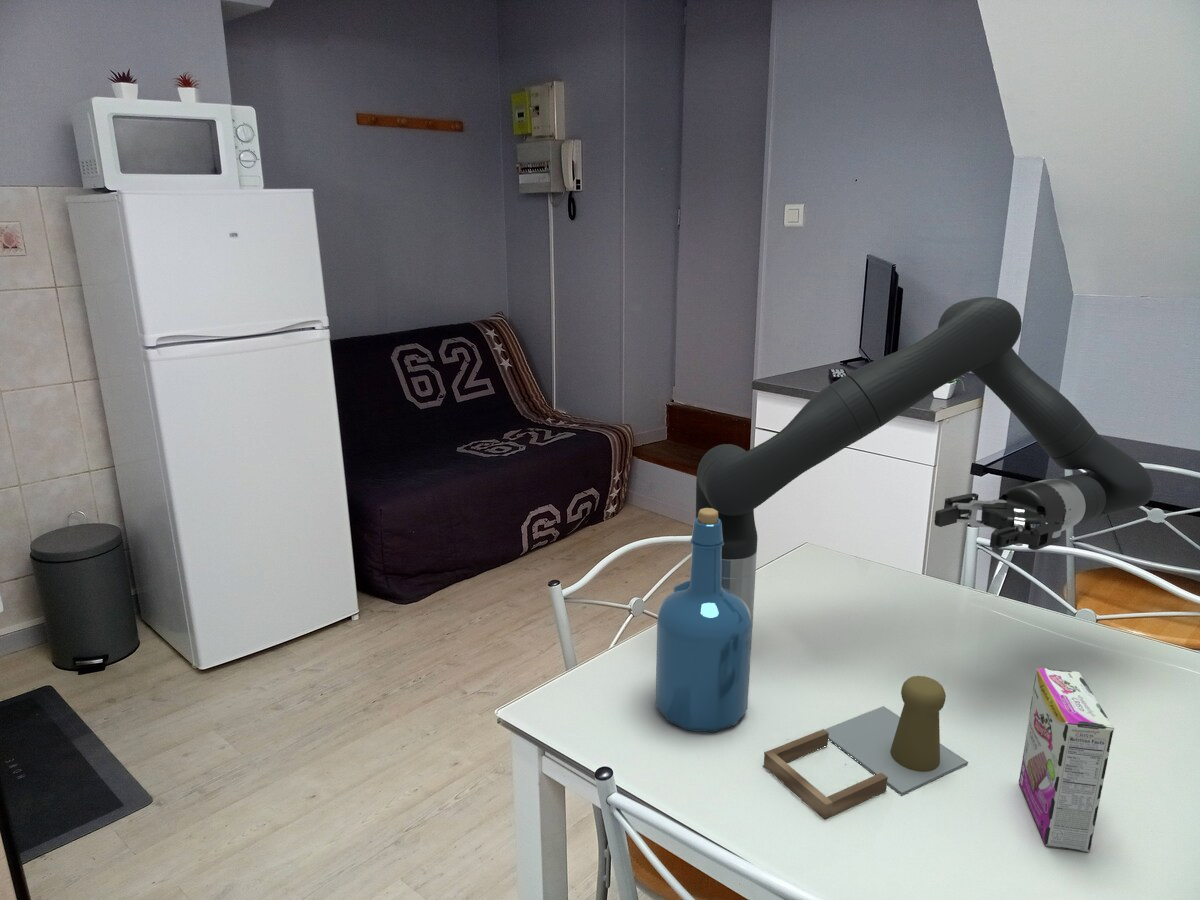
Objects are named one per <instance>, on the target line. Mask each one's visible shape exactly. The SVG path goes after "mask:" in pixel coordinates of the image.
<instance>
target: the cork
mask: <svg viewBox="0 0 1200 900" xmlns="http://www.w3.org/2000/svg"><path fill="white" fill-rule="evenodd" d="M900 695H901V698H902V699H901V700H902V702H903V706H902V710H901V713H900V716H899V717H900V720H899V723H898V726H897V730H896V733H895V737H894V740H893V743H892V747H891V750H890V752H891V756H892V757H893V759H894V760H895V761H896V762H897V763H899V764H900V765H901V766H903V767H905V768H907V769H910V770H914V771H920V772H927V771H932V770H934V769H936V768H937V767H938V766H939V764H940V744H941V743H940V742H941V741H940V738H941V737H940V729H941V728H940V712H941V710H942V709H943V708H944V706H945V702H946V699H947V698H946V696H947V695H946V691H945V689H944V687H943V685H942V684H941V683H940V682H939V681H937V680H935V679H934V678H931V677H928V676H925V675H913V676H910V677H908V678H907V679H906V680H905V681H904V682H903V684H902V686H901V691H900Z"/></svg>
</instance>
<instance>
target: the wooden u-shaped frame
mask: <svg viewBox="0 0 1200 900" xmlns="http://www.w3.org/2000/svg"><path fill="white" fill-rule="evenodd" d="M824 729H825V728H822V729H820V730H817V731H815V732H812V733H810V734H807V735H804V736H802V737H799V738H797V739H795V740H792V741H790V742H786V743H784V744H782V745H780V746H777V747H775V748H771V749H768V750H767V751H764V753H763V754H764V755H763V766H764V768H766V769H767V770H768V771H769V770H770V771H771V772H772V773H771V772H770V771H769V772H770V773H771V774H772V775H774V776H775V777H776V778H777V779H778V780H779V781H781V783H783V784H784V785H785V786H786V787H787V788H788V789H790V791H792V792H793V793H794V794H795V795H797V796H798V797H799V798H800V799H801V800H803V802H804V803H806V804H807V805H808V806H809V807H810V808H811V809H813V810H814V811H815V812H816V813H817V814H818V815H819V816H820V817H822V818H823V819H824V820H827V819H829V818H831V817H834V816H835V815H837V814H840V813H842V812H844V811H846V810H849V809H850V808H853V807H855V806H857V805H859V804H861V803H864V802H865V801H867V800H870V799H872V798H874V797H877V796H878V795H880V794H883V793H884V792H887V787H888V785H887V779H888V777H887V776H886V775H884V774H883V773H882V772H881V773H879V774H877V775H873V776H870V777H868V778H866V779H863V780H862V781H859V782H857V783H854V784H852V785H850V786H848V787H846V788H843V789H841V790H838V791H837V792H835V793H832V794H830V795H828V796H826V795H825V794H824V793H823V792H821V791H820V790H819V789H818V788H816V786H814V785H813V784H812V783H810V782H809V781H808V780H807V779H806V778H804V776H802V775H801V774H800V773H798V771H796V770H795V769H794V768H793V767H792V766H790V765H789V764H788V763H790V762H793V761H794V759H795V760H797V759H800V758H802V757H804V756H806V754H807V755H809V754H812V753H814V752H816V751H815V750H817V749H819V750H821V749H823V748H822V747H824V746H826V747H828V746H827V745H829V744H828V743H829V740H828V736H829V733H828V732H827V731H825V730H824ZM820 748H821V749H820ZM824 748H825V747H824ZM813 751H814V752H813ZM817 751H818V750H817ZM811 752H812V753H811ZM808 753H809V754H808ZM801 756H802V757H801ZM799 757H800V758H799ZM796 758H797V759H796ZM789 761H790V762H789Z"/></svg>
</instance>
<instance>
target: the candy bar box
mask: <svg viewBox="0 0 1200 900" xmlns="http://www.w3.org/2000/svg"><path fill="white" fill-rule="evenodd" d="M1032 690H1033V691H1032V696H1031V701H1030V709H1029V714H1028V724H1027V728H1026V729H1027V730H1026V733H1025V734H1026V735H1025V743H1024V749H1023V754H1022V761H1021V768H1020V772H1019V778H1018V784H1019V787H1020V789H1021V791H1022V793H1023V795H1024V798H1025V801H1026V803H1027V804H1028V807H1029V810H1030V812H1031V815H1032V817H1033V819H1034V822H1035V823H1036V826H1037V830H1038V831H1039V834H1040V836H1041V839H1042V841H1043V844H1044V846H1045V847H1049V848H1052V849H1053V848H1054V849H1060V850H1072V851H1077V852H1085V853H1090V852H1091V848H1092V847H1091V846H1092V841H1093V836H1094V831H1095V827H1096V821H1097V818H1098V817H1097V816H1098V812H1099V807H1100V801H1101V796H1102V790H1103V787H1104V782H1105V781H1104V779H1105V777H1106V776H1105V775H1106V771H1107V767H1108V761H1109V755H1110V749H1111V744H1112V739H1113V734H1114V730H1115V727H1114V725H1113V724H1112V723H1111V720H1110V719H1109V718H1108V716H1107V714H1106V713H1105V711H1104V710H1103V707H1102V706H1101V705H1100V703H1099V702H1098V700H1097V698H1096V697H1095V695H1094V694H1093V691H1092V690H1091V689H1090V687H1089V685H1088V684H1087V682H1086V681H1085V678H1083V676H1082V674H1081V673H1080V672H1079V671H1071V670H1063V669H1051V668H1048V667H1047V668H1046V667H1039V668H1036V671H1035V677H1034V683H1033V689H1032Z"/></svg>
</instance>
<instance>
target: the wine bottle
mask: <svg viewBox="0 0 1200 900" xmlns="http://www.w3.org/2000/svg"><path fill="white" fill-rule="evenodd" d="M693 520H694V521H693V525H692V526H693V527H692V533H691V538H690V544H691V561H690V574H689V576H690V577H689V580H687V581H684V582H682V583H680V584H678V585H675V586H674V587H673V590H672V593H670V594H669V595H667V596H666V597H665V598H663V599H662V601H661V602H660V604H659V606H658V609H657V619H656V620H657V621H656V664H655V665H656V668H655V707H656V708H657V710H658V712H660V713H661V715H662V716H663V717H664V718H665V720H667V722H668V723H670V724H673V725H675V726H678V727H681V728H683V729H685V730H687V731H694V732H706V733H707V732H709V733H710V732H712V733H713V732H714V733H715V732H718V731H721V730H724V729H728V728H731V727H734V726H735V725H736V724H737V723H739V721H740V720H741V719H742V718H743V717H744V715H745V714H746V713H747V711H748V708H749V707H748V705H749V691H750V690H749V687H750V686H749V685H750V672H751V656H752V655H751V654H752V653H751V651H752V644H751V639H752V640H753V627H752V621H751V615H750V611H749V609H748V606H747V605H746V603H745V602H744V601H743V600H742V599H741V598H739V597H738V596H737V595H735V594H734V593H733V592H731V591H730V590H728V589H725V588H723V587H722V586H721V574H722V546H723V545H724V541H723V535H722V522H721V520H720V519H719V518H718V511H717V510H715V509H713V508H703V509H700V511H699V513H698V518H696V517H695V518H694V519H693Z"/></svg>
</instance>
